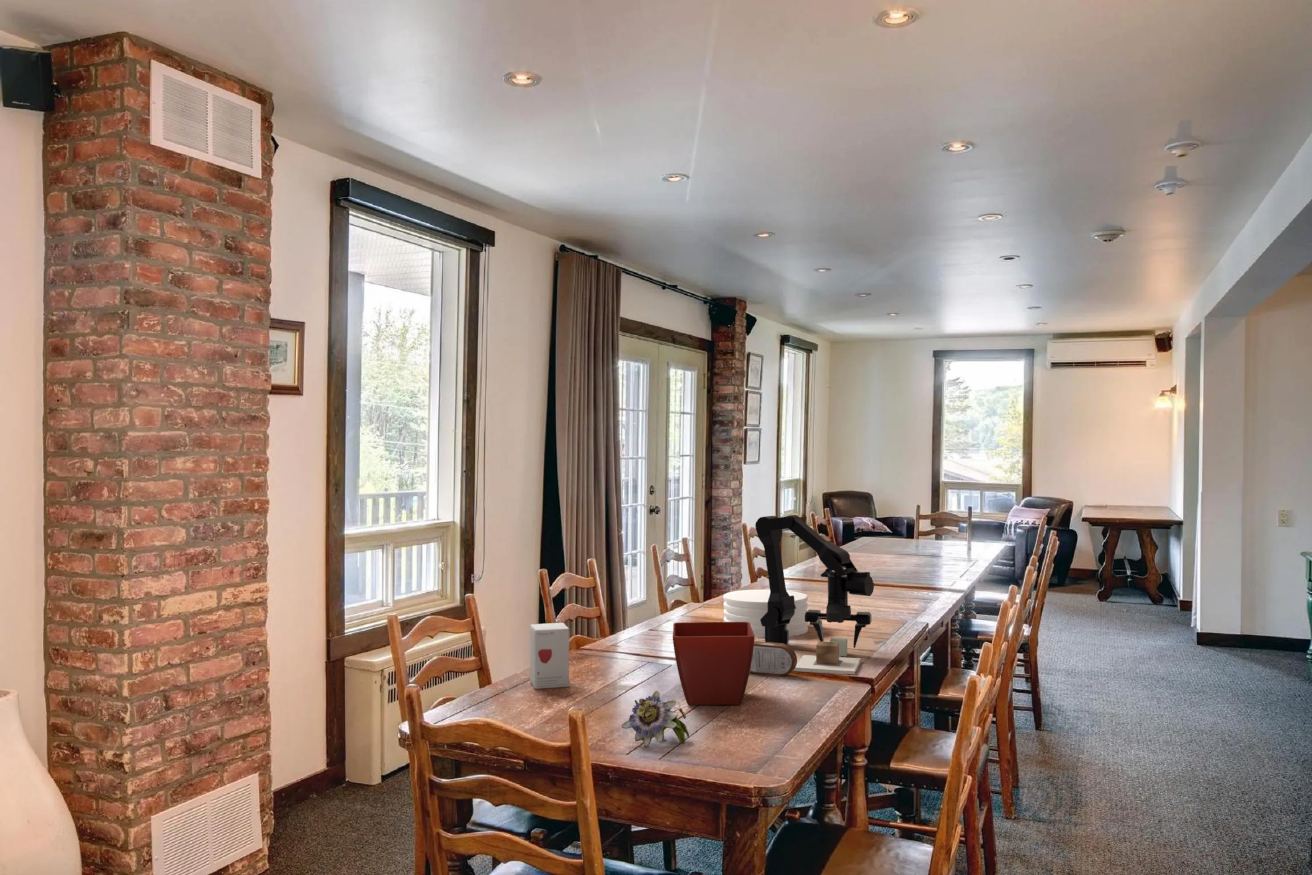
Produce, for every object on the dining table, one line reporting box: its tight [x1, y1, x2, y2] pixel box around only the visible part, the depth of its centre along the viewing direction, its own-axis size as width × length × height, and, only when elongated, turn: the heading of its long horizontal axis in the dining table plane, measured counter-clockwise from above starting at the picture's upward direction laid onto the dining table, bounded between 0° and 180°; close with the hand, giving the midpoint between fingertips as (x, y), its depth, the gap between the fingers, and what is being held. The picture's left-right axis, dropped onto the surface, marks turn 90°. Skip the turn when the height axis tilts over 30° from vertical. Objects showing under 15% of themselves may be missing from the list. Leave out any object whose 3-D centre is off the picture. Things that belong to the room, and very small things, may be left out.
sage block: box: [829, 637, 848, 658], centre depth 269 cm, size 4×4×4 cm
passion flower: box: [621, 690, 690, 748], centre depth 190 cm, size 11×11×12 cm
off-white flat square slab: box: [793, 654, 861, 676], centre depth 254 cm, size 16×16×1 cm
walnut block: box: [815, 640, 840, 665], centre depth 254 cm, size 6×6×5 cm
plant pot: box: [672, 621, 756, 706], centre depth 222 cm, size 19×19×17 cm
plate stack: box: [722, 588, 809, 638], centre depth 310 cm, size 28×28×12 cm
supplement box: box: [529, 622, 570, 690], centre depth 238 cm, size 9×9×15 cm
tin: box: [750, 640, 798, 677], centre depth 246 cm, size 15×3×8 cm, turn 65°
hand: (838, 646), depth 269 cm, fingers open, 9 cm apart
